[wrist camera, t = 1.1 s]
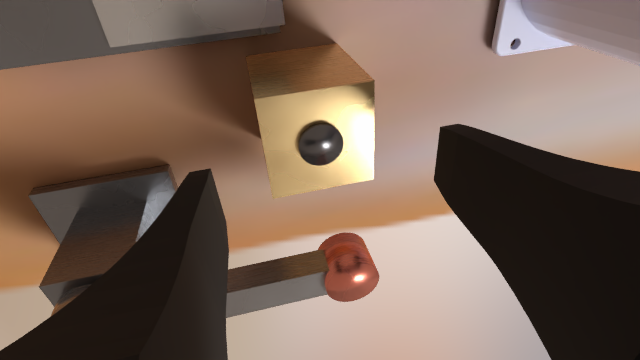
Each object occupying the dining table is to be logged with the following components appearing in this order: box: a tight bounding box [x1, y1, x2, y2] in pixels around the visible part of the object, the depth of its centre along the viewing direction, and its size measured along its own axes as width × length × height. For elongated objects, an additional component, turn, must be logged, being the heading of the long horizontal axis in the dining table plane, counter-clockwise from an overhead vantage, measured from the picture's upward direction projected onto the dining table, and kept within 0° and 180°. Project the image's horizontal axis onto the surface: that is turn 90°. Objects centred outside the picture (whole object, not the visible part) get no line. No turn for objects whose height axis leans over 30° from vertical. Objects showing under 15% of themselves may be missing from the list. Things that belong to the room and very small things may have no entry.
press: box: [0, 0, 285, 307], centre depth 14 cm, size 12×18×5 cm, turn 5°
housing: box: [246, 43, 374, 199], centre depth 15 cm, size 4×4×5 cm
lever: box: [51, 233, 379, 318], centre depth 15 cm, size 13×3×2 cm, turn 95°
